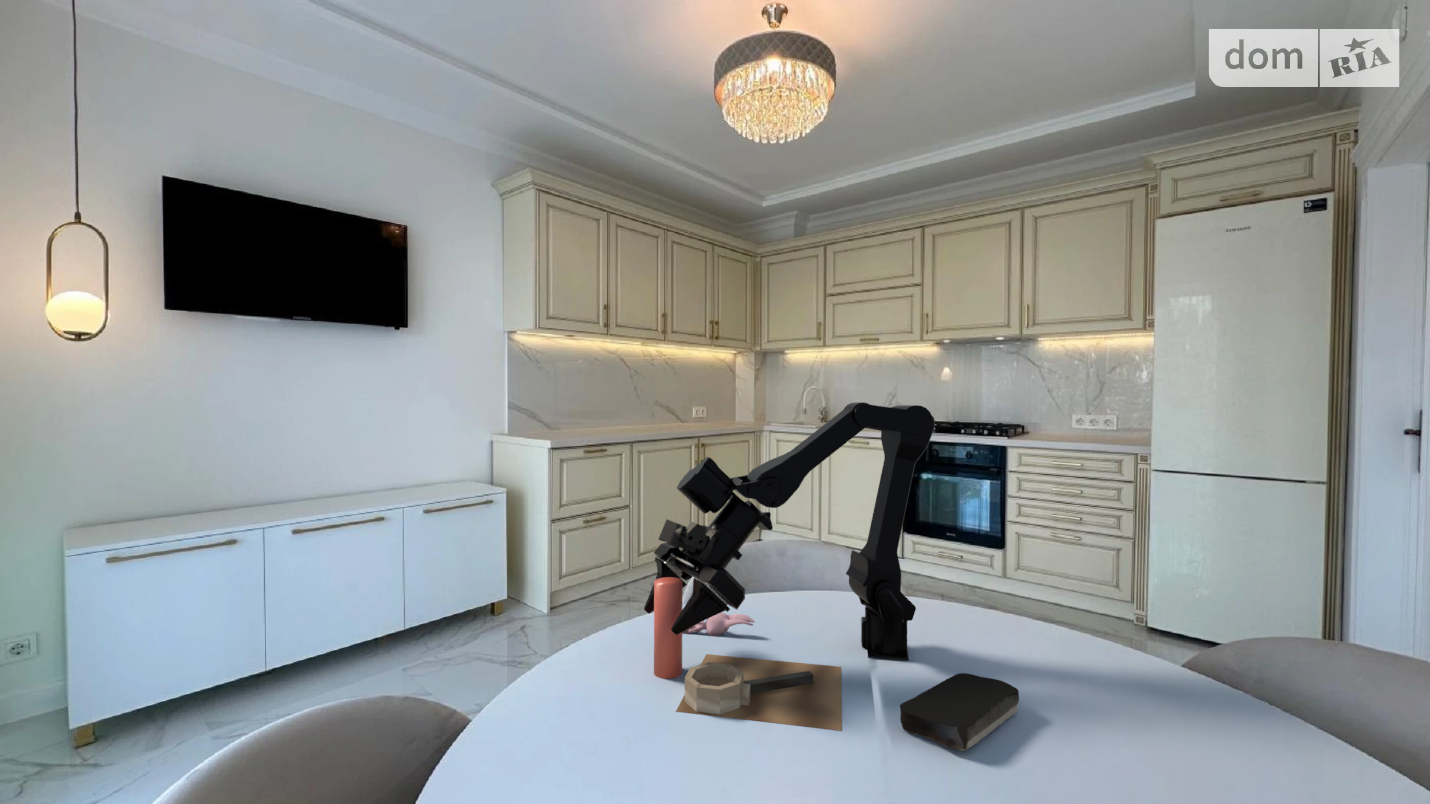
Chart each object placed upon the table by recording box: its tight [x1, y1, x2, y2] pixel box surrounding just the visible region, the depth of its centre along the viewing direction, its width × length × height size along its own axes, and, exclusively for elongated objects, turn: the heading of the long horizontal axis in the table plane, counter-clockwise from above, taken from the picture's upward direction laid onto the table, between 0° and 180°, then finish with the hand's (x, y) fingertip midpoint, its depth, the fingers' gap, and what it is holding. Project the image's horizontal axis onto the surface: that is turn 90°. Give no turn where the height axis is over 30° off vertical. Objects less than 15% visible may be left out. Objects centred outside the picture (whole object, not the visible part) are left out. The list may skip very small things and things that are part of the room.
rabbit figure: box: [682, 612, 756, 637], centre depth 98 cm, size 6×6×15 cm
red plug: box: [653, 577, 684, 680], centre depth 82 cm, size 4×4×14 cm
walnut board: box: [675, 653, 843, 732], centre depth 78 cm, size 20×17×4 cm
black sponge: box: [899, 672, 1020, 752], centre depth 71 cm, size 16×8×4 cm, turn 129°
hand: (659, 621), depth 81 cm, fingers open, 9 cm apart
